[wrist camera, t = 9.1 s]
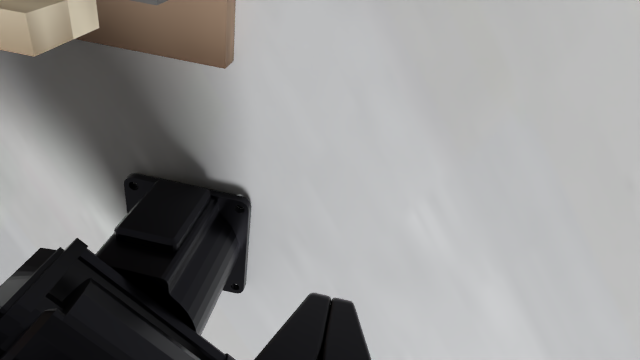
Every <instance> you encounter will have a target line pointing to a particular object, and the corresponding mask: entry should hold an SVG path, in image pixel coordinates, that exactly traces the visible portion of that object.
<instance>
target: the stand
mask: <svg viewBox="0 0 640 360" xmlns="http://www.w3.org/2000/svg"><path fill="white" fill-rule="evenodd" d="M96 5H97V13H98V21H99V28H98V29H96V30H94V31H91V32H89V33H87V34H85V35H82V36H80V37H78V38H76V39H78V40H83V41H88V42H93V43H98V44H103V45H108V46H113V47H118V48H123V49H128V50H134V51H139V52H144V53H149V54H154V55H159V56H164V57H169V58H174V59H179V60H184V61H189V62H194V63H199V64H204V65H209V66H214V67H219V68H224V69H225V68H226V67H228V66H229V65H230V64H231V63H232V62H233V57H234V29H235V0H96Z"/></svg>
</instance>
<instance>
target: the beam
mask: <svg viewBox="0 0 640 360" xmlns="http://www.w3.org/2000/svg"><path fill="white" fill-rule="evenodd" d="M98 28H99V21H98V13H97V5H96V0H0V50H3V51H8V52H13V53H18V54H23V55H28V56H33V57H35V56H37V55H40V54H42V53H44V52H46V51H49V50H51V49H53V48H55V47H58V46H60V45H62V44H64V43H67V42H69V41H71V40H73V39H76V38H78V37H80V36H82V35H85V34H87V33H89V32H91V31H94V30H96V29H98Z"/></svg>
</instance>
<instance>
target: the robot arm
mask: <svg viewBox="0 0 640 360" xmlns="http://www.w3.org/2000/svg"><path fill="white" fill-rule="evenodd" d="M133 182H134V183H136V184H137V185H138V186H137V185H135V184H134V183H133ZM124 188H125V196H126V205H127V213H128V214H127V215H126V216H125V217H124V219H123V220H122V221H121V222H120V223H119V224H118V225H117V227H116V228H115V230H114V231H115V232H114V234H113V235H112V236H111V237H110V238H109V239H108V240H107V242H106V243H105V244H104V245H103V246H102V247H101V248H100V250H99V251H98V252H97V253H96V254H94V253H92V252H91V251H90V250H89V249H87V247H88V246H87V245H86V244H85V243H83V242H82V241H81V240H80V239H78V238H76V239H75V240H74V241H73V242H72V243H71V244H70V245H69V246H68V247H67V248H66V249H65V250H63V249H62V248H61V247H60V248H59V249H57V250H52V249H45V248H40V249H39V250H38V251H37V252H36V253H35V254H34V255H33V256H32V257H30V258H29V259H28V260H27V261H26V262H25V263H24V264H23V265H22V266H21V267H20V268H19V269H18V270H17V271H16V272H15V273H14V274H13V275H12V276H11V277H10V278H8V279H7V280H6V281H5V282H4V283H3V284H2V285H1V286H0V360H235V359H234V358H233V357H231V356H230V355H229V354H224V353H223V352H221V351H220V350H219V349H217V348H216V347H215V346H213V345H212V344H211V343H210V342H208V341H207V340H206V339H204V338H203V337H202V336H201V334H202V332H203V330H204V328H205V325H206V323H207V321H208V319H209V317H210V315H211V313H212V311H213V309H214V307H215V304H216V302H217V300H218V298H219V296H220V294H221V292H222V290H224V291H228V292H233V293H241V292H242V291H243V290H244V287H245V285H246V275H247V260H248V246H249V232H250V217H251V203H250V202H249V200H248V199H246V198H244V197H241V196H237V195H232V194H228V193H223V192H218V191H214V190H209V189H206V188H201V187H196V186H192V185H187V184H182V183H178V182H173V181H169V180H164V179H158V178H154V177H149V176H145V175H140V174H131V175H130V176H129V177H128V178H127V179H126V180H125V181H124ZM237 205H240V206H242V207H243V208H244V209H241V208H239V207H238V206H237ZM236 284H237V285H236ZM330 304H331V305H330ZM254 360H371V357H370V354H369V351H368V348H367V344H366V341H365V338H364V335H363V332H362V328H361V325H360V322H359V319H358V316H357V312H356V309H355V306H354V304H353V303H352V302H351V301H348V300H344V299H339V298H333V299H332V301H331V298H330V297H329V296H326V295H322V294H318V293H311V294H309V295H308V296H307V298H306V299H305V300H304V301H303V302H302V304H301V305H300V306H299V307H298V308H297V310H296V311H295V312H294V313H293V314H292V315H291V317H290V318H289V319H288V320H287V321H286V323H285V324H284V325H283V326H282V327H281V329H280V330H279V331H278V332H277V333H276V334H275V336H274V337H273V338H272V339H271V340H270V342H269V343H268V344H267V345H266V346H265V348H264V349H263V350H262V351H261V352H260V353H259V355H258V356H257V357H256V358H255V359H254Z"/></svg>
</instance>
